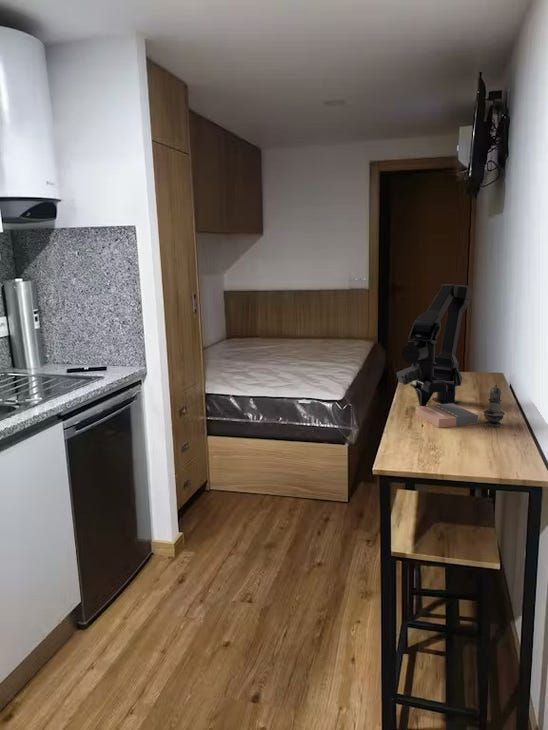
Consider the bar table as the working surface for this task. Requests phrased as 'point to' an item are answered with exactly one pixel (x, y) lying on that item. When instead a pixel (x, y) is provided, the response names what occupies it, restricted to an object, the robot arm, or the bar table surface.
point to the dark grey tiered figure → (494, 409)
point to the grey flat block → (459, 414)
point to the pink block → (435, 416)
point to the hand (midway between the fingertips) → (422, 408)
